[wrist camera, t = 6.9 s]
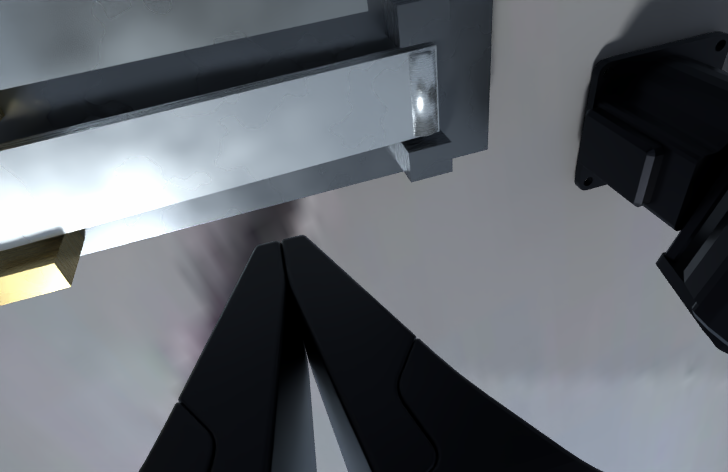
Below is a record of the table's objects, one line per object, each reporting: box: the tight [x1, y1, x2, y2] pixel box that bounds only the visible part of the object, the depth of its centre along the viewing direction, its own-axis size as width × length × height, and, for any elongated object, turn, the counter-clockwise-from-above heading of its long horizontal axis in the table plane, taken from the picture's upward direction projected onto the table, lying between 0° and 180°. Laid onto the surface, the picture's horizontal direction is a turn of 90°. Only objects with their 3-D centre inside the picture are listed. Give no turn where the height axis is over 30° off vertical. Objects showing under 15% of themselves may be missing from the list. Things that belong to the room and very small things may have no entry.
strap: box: [0, 42, 439, 251], centre depth 15 cm, size 15×3×1 cm, turn 98°
